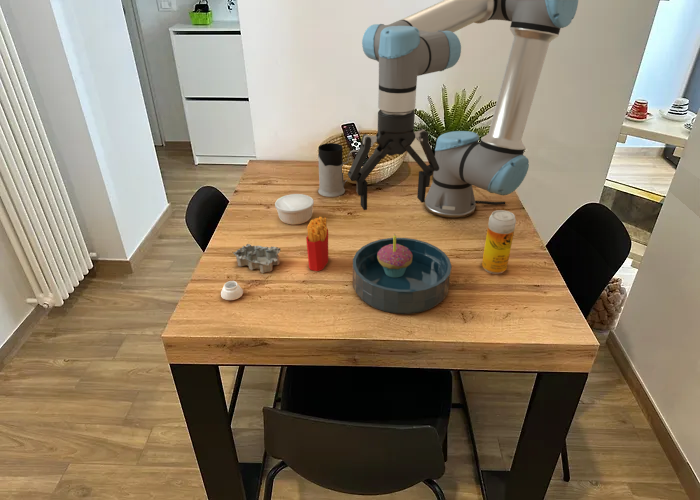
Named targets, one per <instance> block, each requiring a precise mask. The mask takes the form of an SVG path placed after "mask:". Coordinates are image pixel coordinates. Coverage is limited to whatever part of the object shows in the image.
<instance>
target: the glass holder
mask: <svg viewBox="0 0 700 500" xmlns="http://www.w3.org/2000/svg"><path fill="white" fill-rule="evenodd" d="M358 151H359V150H357V149H353V150H351V151H349V153H348V154H347V161H345V162H344V161H343V158H344V157H343V145H342V144H339V143H334V142H329V143H328V142H327V143H322V144H320V145H318V154H317V157H318V158H317V159H318V182H319V183H318V186H319V187H318V190H317V192H318V194H319V195H320V196H323V197H327V198H334V197H340V196H342V195H344V194H345V192H346V190H345V185H346V183H347V182H348V181H349V180H346V179H345V180H344V172H343V173H342V166H343V167H344V165H347V164H348V163H349V161H350V155H351V154H352V153H354V152H356V153H358Z"/></svg>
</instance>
